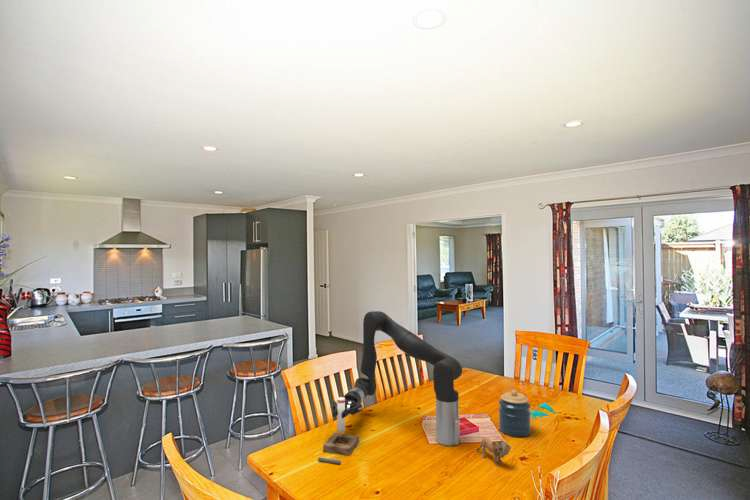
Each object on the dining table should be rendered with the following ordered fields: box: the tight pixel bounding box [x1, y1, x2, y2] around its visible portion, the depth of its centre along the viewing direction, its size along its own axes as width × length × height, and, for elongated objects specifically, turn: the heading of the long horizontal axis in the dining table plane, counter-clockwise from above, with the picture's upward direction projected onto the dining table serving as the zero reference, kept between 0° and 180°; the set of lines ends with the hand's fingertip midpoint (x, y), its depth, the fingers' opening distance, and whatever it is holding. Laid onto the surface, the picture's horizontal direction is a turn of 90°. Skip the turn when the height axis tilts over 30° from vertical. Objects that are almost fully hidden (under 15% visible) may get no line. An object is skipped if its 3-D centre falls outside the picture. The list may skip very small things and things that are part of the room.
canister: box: [498, 389, 532, 438], centre depth 166 cm, size 13×13×18 cm
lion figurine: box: [476, 436, 512, 466], centre depth 143 cm, size 15×5×9 cm, turn 36°
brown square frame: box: [322, 432, 360, 456], centre depth 153 cm, size 11×11×2 cm
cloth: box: [530, 401, 556, 419], centre depth 186 cm, size 26×14×2 cm, turn 123°
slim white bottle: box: [336, 396, 346, 434], centre depth 153 cm, size 3×3×13 cm
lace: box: [317, 456, 342, 465], centre depth 141 cm, size 9×1×1 cm, turn 73°
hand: (338, 415), depth 150 cm, fingers closed on slim white bottle, 3 cm apart
